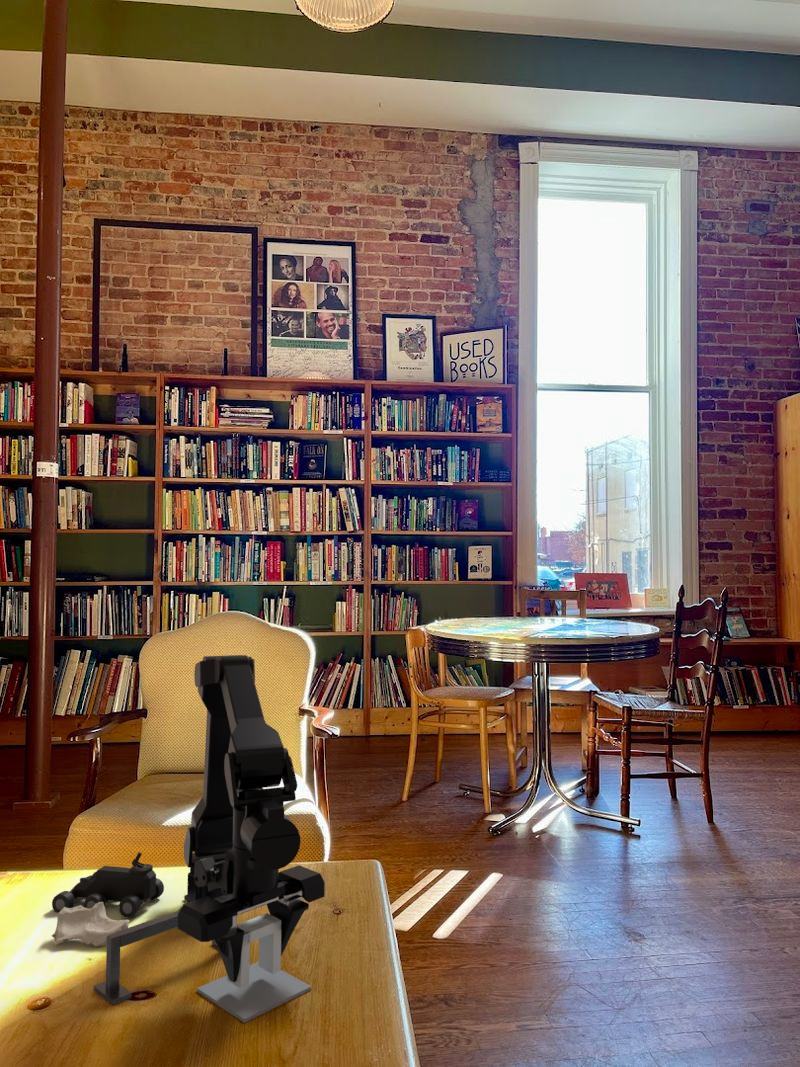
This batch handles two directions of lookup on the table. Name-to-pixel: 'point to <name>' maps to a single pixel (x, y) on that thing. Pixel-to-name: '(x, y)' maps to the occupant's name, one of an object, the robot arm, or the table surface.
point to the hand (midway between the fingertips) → (254, 971)
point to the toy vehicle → (115, 888)
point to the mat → (254, 992)
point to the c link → (260, 946)
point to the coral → (86, 925)
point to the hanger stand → (112, 986)
